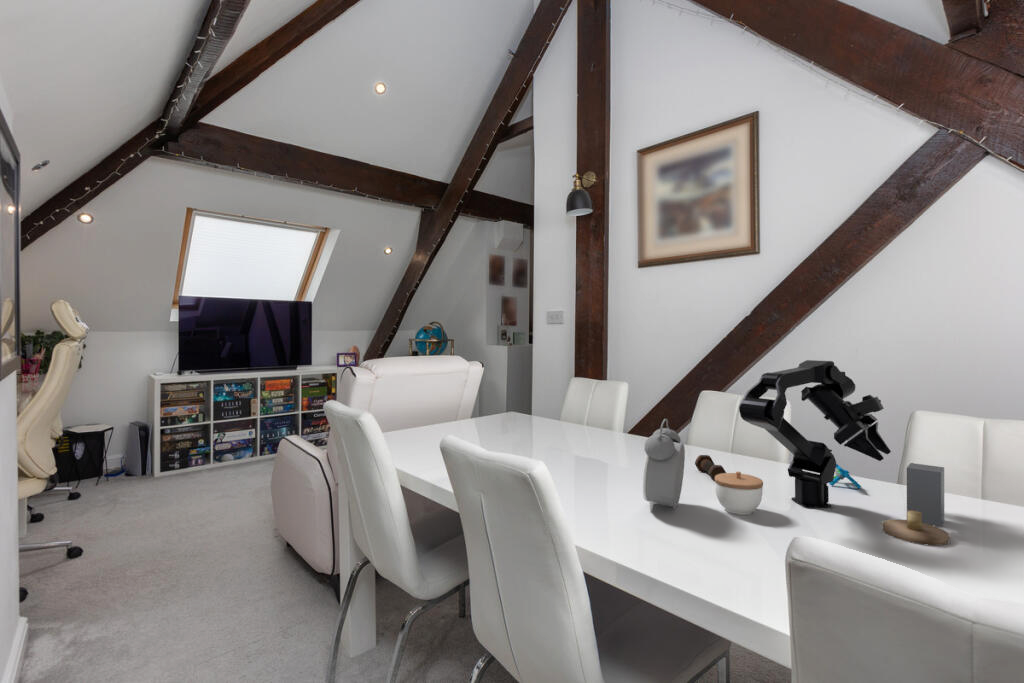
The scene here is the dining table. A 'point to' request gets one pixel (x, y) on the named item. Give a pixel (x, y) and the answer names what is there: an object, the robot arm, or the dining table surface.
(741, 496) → the lidded jar
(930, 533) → the stub base
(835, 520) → the dining table surface
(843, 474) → the blue thin-armed part
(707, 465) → the bolt
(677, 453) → the alarm clock
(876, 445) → the robot arm
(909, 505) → the block
